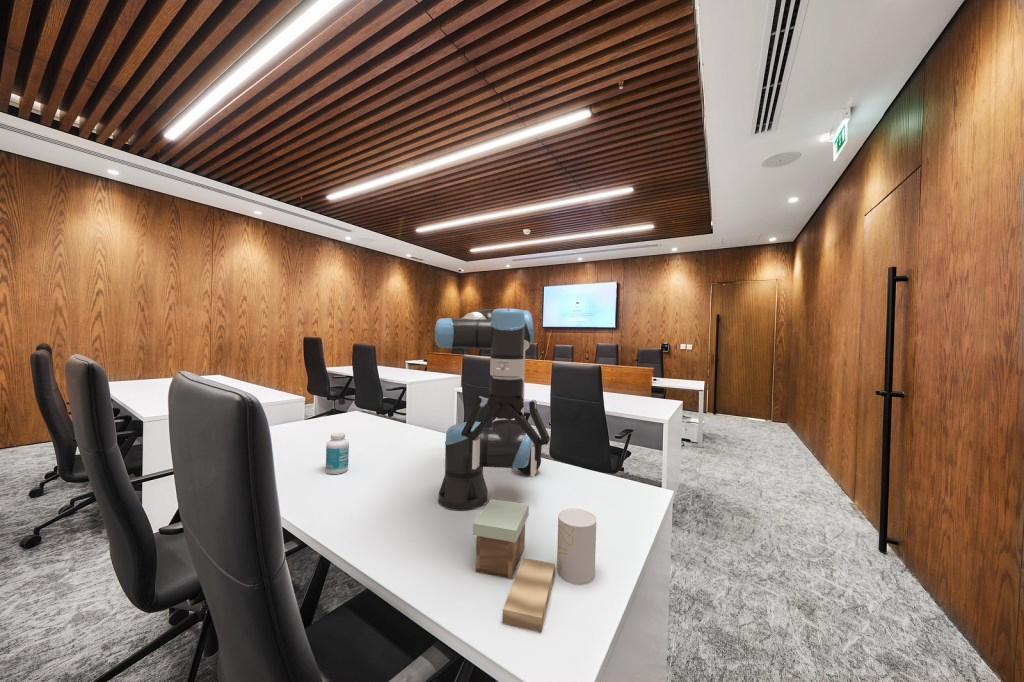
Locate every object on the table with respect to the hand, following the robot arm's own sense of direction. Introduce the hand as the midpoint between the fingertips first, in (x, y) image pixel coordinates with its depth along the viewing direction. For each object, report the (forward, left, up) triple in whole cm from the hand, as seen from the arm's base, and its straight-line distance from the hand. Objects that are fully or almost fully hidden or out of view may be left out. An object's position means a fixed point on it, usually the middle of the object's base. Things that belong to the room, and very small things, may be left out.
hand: (504, 471), depth 84 cm
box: (0, 0, -20) cm, 20 cm away
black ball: (-6, +54, -21) cm, 58 cm away
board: (+9, -10, -20) cm, 24 cm away
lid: (0, 0, -13) cm, 13 cm away
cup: (+17, +1, -21) cm, 26 cm away
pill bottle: (-72, +33, -21) cm, 82 cm away
